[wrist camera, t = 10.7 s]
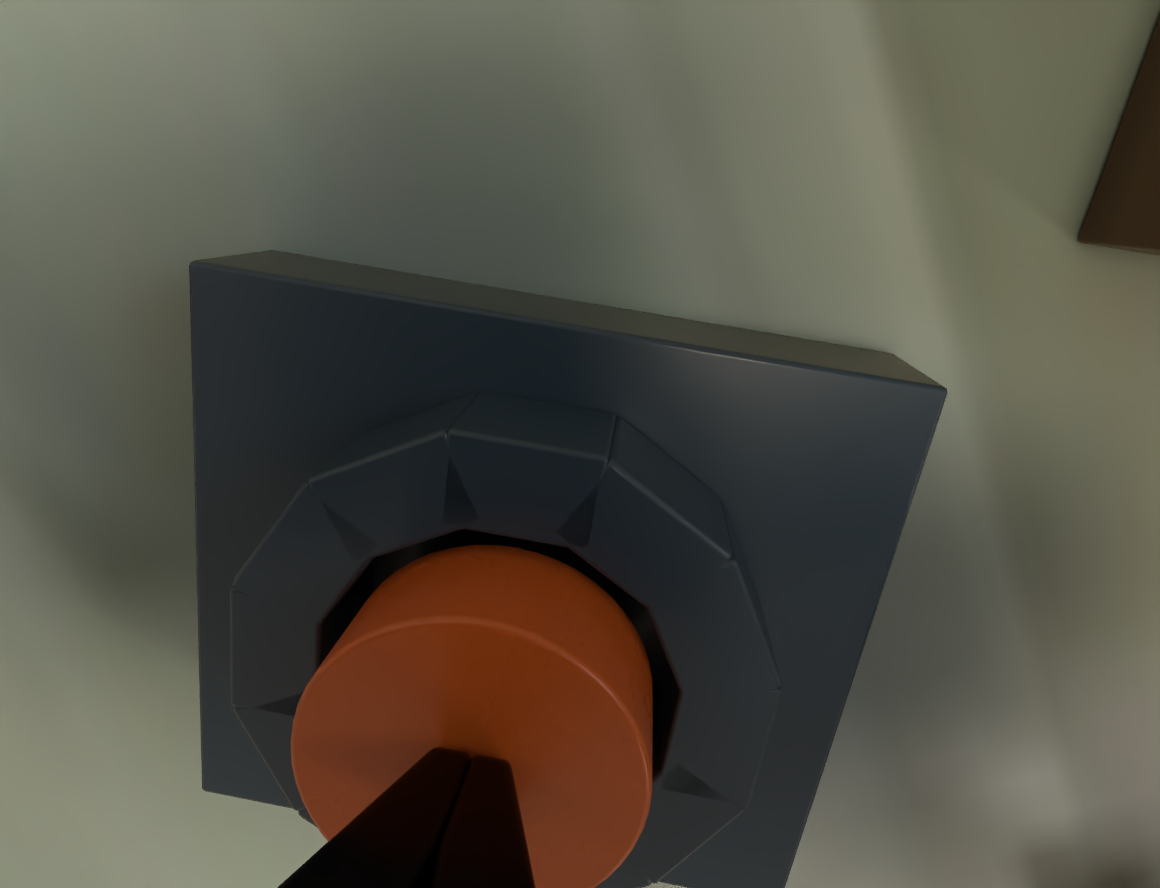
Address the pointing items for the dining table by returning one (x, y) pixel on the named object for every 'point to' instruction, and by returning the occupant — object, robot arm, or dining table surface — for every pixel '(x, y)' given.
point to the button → (490, 702)
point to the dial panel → (1132, 171)
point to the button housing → (551, 515)
